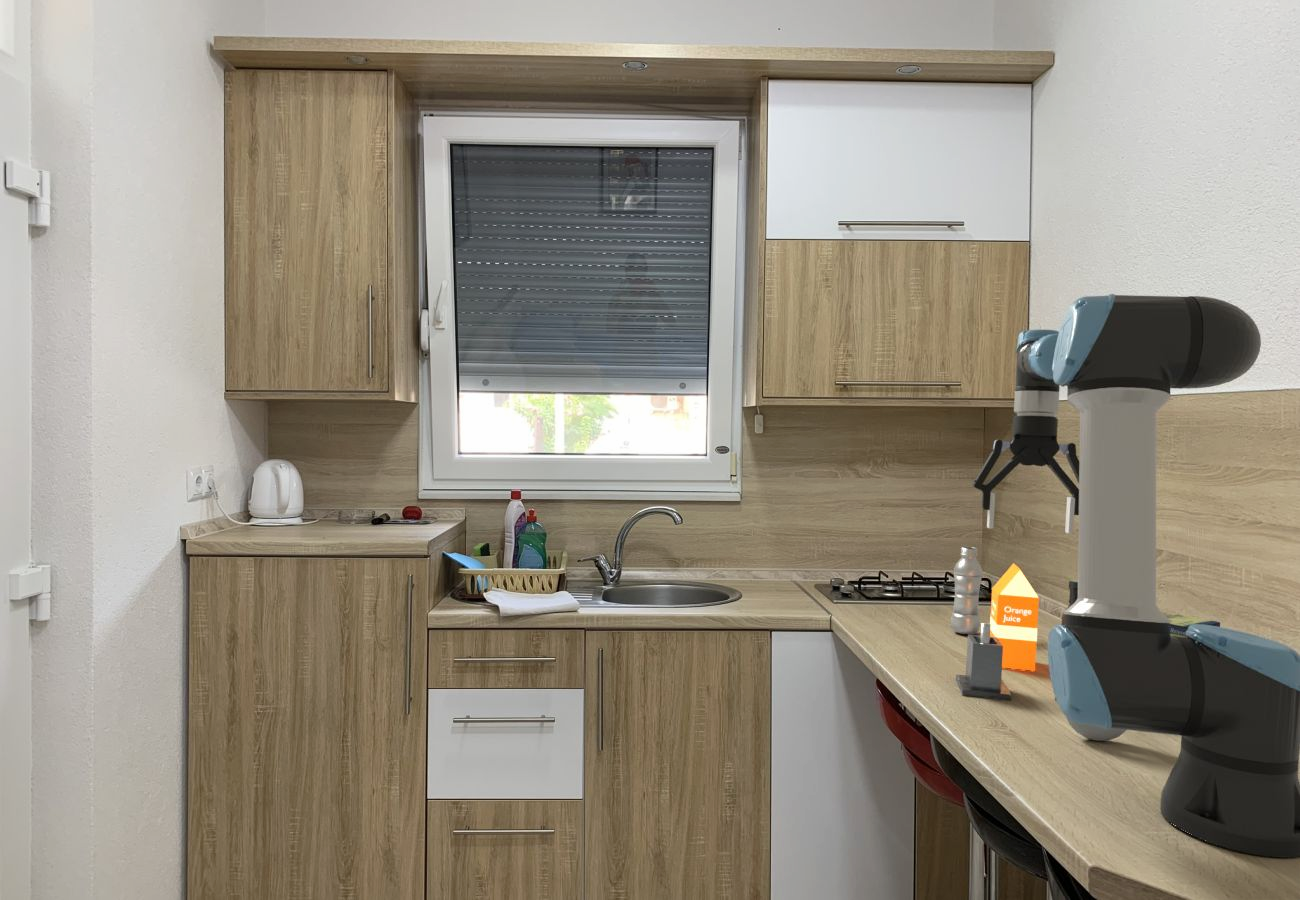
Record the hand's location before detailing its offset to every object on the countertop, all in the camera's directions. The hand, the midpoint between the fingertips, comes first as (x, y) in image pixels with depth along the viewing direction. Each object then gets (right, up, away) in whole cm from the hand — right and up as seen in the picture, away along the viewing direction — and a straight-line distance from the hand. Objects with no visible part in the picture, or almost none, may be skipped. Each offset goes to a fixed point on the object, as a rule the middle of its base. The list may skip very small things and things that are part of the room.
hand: (1029, 530), depth 161 cm
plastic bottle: (+3, -28, +42) cm, 50 cm away
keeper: (-10, -28, -3) cm, 30 cm away
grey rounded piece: (-2, -30, -28) cm, 41 cm away
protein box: (+20, -30, -6) cm, 36 cm away
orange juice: (+3, -29, +16) cm, 33 cm away
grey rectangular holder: (-10, -27, -3) cm, 29 cm away
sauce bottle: (+9, -29, 0) cm, 31 cm away
